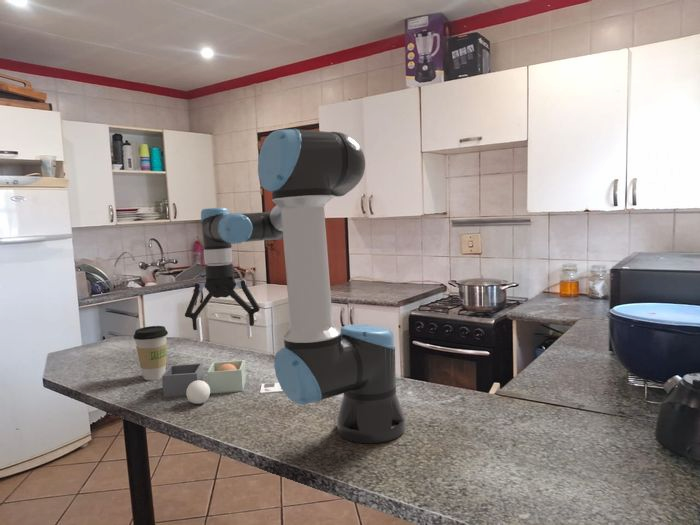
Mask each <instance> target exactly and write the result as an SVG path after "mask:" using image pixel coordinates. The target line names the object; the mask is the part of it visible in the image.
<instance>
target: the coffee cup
mask: <svg viewBox="0 0 700 525" xmlns="http://www.w3.org/2000/svg"><path fill="white" fill-rule="evenodd" d="M134 331H135V332H134V334H133V339H134V340H135V344H136V346H135V347H136V351H137V356H138V361H139V365H140V369H141V372H142V378H143V380H144V379H145V380H146V381H157V380H161V379H162V375H163V374H164V373H165V372H166V370H167V368H166V367H167V366H166V365H167V352H168V350H167V347H168V346H167V345H168V342H167V336H168V334H169V333H168V331H167V329H166V326H163V325H152V326H144V327H140V328H138V329H136V330H134ZM160 378H161V379H160ZM145 380H144V381H145Z"/></svg>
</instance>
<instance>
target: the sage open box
mask: <svg viewBox="0 0 700 525" xmlns="http://www.w3.org/2000/svg"><path fill="white" fill-rule="evenodd" d="M224 364H232V365H234V366H235V367H236V369H237V370H226V371H217V370H218V368H219V367H220V366H222V365H224ZM206 374H207V376H206V377H207V384H208V385H209V387H210V394H220V393H221V394H222V393H234V392H243V391H244V388H245V385H246V383H247V382H246V381H247V374H246V360H245V359H240V360H227V361H215V362H214V361H213V362H212V363H211V365H210V366H209V369H208V370H207V372H206Z"/></svg>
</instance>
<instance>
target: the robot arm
mask: <svg viewBox="0 0 700 525" xmlns="http://www.w3.org/2000/svg"><path fill="white" fill-rule="evenodd" d="M365 168H366V158H365V155H364V152H363V149H362V147H361V146H360V144H359V143H358V142H357V141H356V140H355V139H354V138H353V137H351V136H349V135H348V134H346V133H343V132H338V131H322V130H321V131H320V130H310V129H309V130H308V129H301V128H300V129H299V128H292V129H291V128H289V129H276V130H274V131H272V132H270V133H269V134H268V135H267V137H266V138H265V139H264V141H263V144H262V146H261V147H260V152H259V155H258V160H257V175H258V180H259V181H260V185H261V187H262V189H264V190H265V191H267V192H269V193H270V192H271V198H272V199H271V200H272V202H273V204H275V206H274V207H273V208H272V209H270V210H269V211H264V212H244V213H240V212H239V213H236V212H235V213H231V212H229V210H228V208H227V207H210V208H203V209H202V210H201V211H200V226H201V234H202V245H203V258H204V264H205V267H204V269H205V270H204V271H205V282H199V281H197V282H196V283H195V284H194V287H193V288H194V292H193V294H192V297H191V299H190V300H189V303H188V305H187V308H186V311H185V314H184V317H185V318H190V319H192V320H191V321H192V328H193V331H196V332H197V333H196V334H197V343H202V341H203V330H202V329H203V328H202V319H201V318H202V317H201V316H199V315H200V314H201V312H202V311H203V310H204V308H205V307H206V306H207V304H208V303H209V302H210V301H211V299H212V298H215V299H219V298H228V297H230V298H232V299H233V300H234V301H235V302H236V303H237V304H238V305H239V306H240V307H241V308H242V309H243V310H244V311H246V312H247V313H246V315H245V317H246V319H245V320H246V332H247V339H251V338H252V328H251V327H252V326H254V325H255V315H254V314H255V313H258V312H259V311H260V308H261V307H260V306H259V304H258V302H257V301H256V299H255V298H254V296H253V294H252V293H251V291H250V290H249V287H248V285H247V280H246V279H244V278H243V279H241V280H236V279H235V274H234V264H232V262H233V250H232V246H233V245H235V244H242V243H248V242H259V241H271V240H272V241H273V240H283V250H284V251H283V252H284V261H285V262H284V264H285V276H286V278H285V279H286V289H287V302H288V311H289V314H288V315H289V323H290V324H289V325H290V328H289V330H288V331H287V332H286V334H284V336H283V342H284V347H283V348H281V349H280V350H278V351H276V354H275V356H274V360H273V361H274V363H273V364H274V372H275V375H276V379H277V383H278V382H279V384H280V386H281V388H282V390H283V393H284V395H285V396H286V397H287V398H288V399H289V400H290V401H291V402H292V403H295V404H296V405H299V406H304V405H309V404H312V403H313V404H314V403H315V404H316V403H320V402H322V401H324V400H327V399H329V398H333V397H336V396H339V395H342V394H343V397H342V402H341V405H340V408H339V412H338V415H337V421H336V425H337V426H336V427H337V433H338V434H339V436H341V437H342V438H344V439H345V440H348V441H351V442H355V443H360V444H378V443H379V444H380V443H385V442H390V441H393V440H395V439H397V438H399V437H401V436H402V435H403V433H404V432H405V431H406V416H405V414H404V411H403V408H402V406H401V403H400V401H399V396H398V395H397V381H396V380H397V378H396V346H395V339H394V338H395V337H394V333H393V332H392V331H391V330H390V329H388V328H387V327H383V326H381V325H374V324H373V325H371V324H359V323H358V324H346V325H343V326H342V327H340V329H339V328H338V327H336V325H334V322H333V321H334V320H333V308H332V293H331V283H330V268H329V255H328V242H327V241H328V240H327V230H326V227H327V226H326V214H325V206H326V205H327V203H329V202H330V201H332V199H334V198H337V197H339V198H340V197H343V196H345V195H347V194H348V193H349V192H351V191H352V190H354V189H355V188H356V187H357V186H358V184H360V182H361V180H362V178H363V176H364V174H365ZM236 286H237V287H238V288H240V289H241V290H242V292H243V293H244V295H245V297H246V298H247V300H248V302H249V303H250V305H251V306H250V305H249V304H248V303H247V302H246V301H245V300H244V299H243V298H242V297H241V296H240V295H239V294H238V293H237V292H236V290H235V288H236ZM204 288H205V289H206V291H208V294H206V296H205V298H204V299H203V301H201V303H200V304H199V305H198V307H197V308H196V310H194V307H196V306H195V305H196V302H197V300H198V298H199V296H200V294H201V291H203V290H204ZM193 310H194V312H193Z"/></svg>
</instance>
